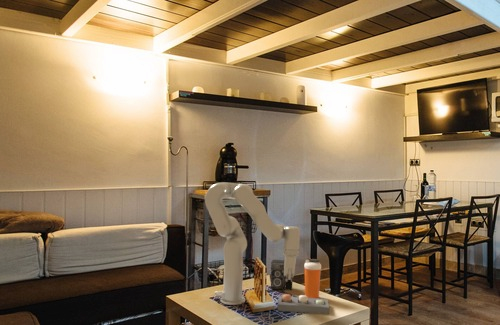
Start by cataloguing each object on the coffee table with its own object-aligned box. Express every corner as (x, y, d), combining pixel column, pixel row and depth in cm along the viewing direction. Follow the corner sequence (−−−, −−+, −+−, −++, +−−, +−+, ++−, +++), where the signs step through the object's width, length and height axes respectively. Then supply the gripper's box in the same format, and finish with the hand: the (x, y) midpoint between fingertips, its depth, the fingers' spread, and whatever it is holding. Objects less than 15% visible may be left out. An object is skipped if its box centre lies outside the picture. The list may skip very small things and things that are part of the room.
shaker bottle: (320, 301, 208) (321, 262, 208) (302, 299, 210) (303, 260, 210) (320, 295, 217) (321, 258, 217) (303, 294, 219) (305, 256, 219)
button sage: (315, 308, 196) (315, 302, 196) (315, 305, 200) (315, 299, 200) (324, 309, 195) (324, 302, 195) (323, 306, 199) (323, 299, 199)
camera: (267, 290, 223) (268, 263, 223) (270, 285, 234) (270, 258, 233) (286, 292, 221) (287, 264, 221) (288, 286, 232) (289, 260, 232)
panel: (277, 310, 194) (277, 304, 194) (278, 301, 205) (278, 296, 205) (329, 314, 191) (329, 307, 191) (327, 305, 203) (327, 299, 203)
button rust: (282, 303, 197) (282, 296, 197) (282, 300, 201) (282, 293, 201) (290, 303, 197) (290, 296, 197) (290, 300, 201) (290, 294, 201)
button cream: (299, 304, 196) (299, 297, 196) (298, 301, 200) (299, 294, 200) (307, 304, 196) (307, 298, 196) (307, 301, 200) (307, 295, 200)
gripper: (283, 248, 207) (281, 284, 207) (282, 254, 192) (280, 293, 192) (298, 249, 206) (296, 285, 206) (298, 256, 191) (296, 295, 191)
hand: (288, 289), depth 199 cm, fingers closed
